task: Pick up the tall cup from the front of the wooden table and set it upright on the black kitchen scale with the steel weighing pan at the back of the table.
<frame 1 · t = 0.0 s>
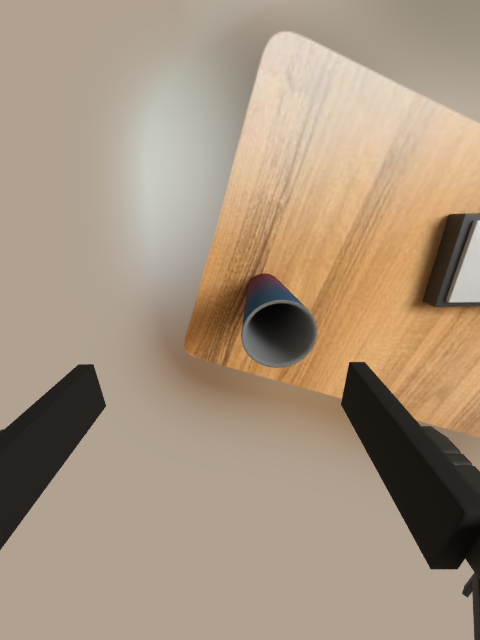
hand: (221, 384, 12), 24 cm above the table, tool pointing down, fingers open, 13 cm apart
cup: (264, 290, 35), on the table
scale: (477, 260, 33), on the table
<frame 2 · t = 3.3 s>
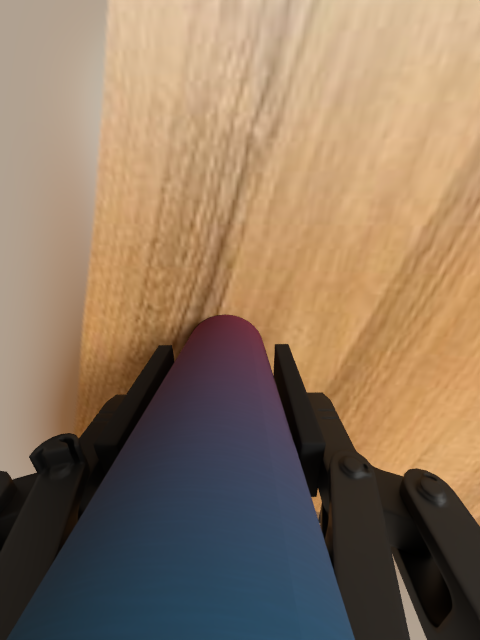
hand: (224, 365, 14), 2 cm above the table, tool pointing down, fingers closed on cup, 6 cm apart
cup: (226, 347, 16), on the table, touching gripper
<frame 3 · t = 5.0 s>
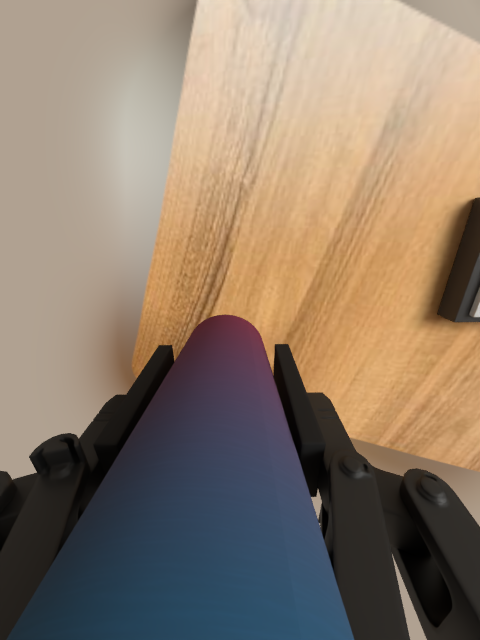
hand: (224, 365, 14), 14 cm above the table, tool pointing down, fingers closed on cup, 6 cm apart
cup: (226, 347, 16), point 11 cm above the table, touching gripper
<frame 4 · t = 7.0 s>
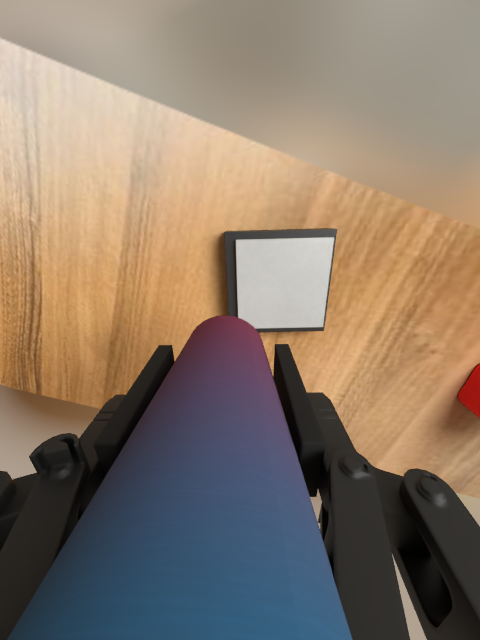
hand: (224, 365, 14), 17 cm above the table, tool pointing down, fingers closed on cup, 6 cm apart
cup: (226, 348, 16), point 15 cm above the table, touching gripper
scale: (275, 280, 29), on the table
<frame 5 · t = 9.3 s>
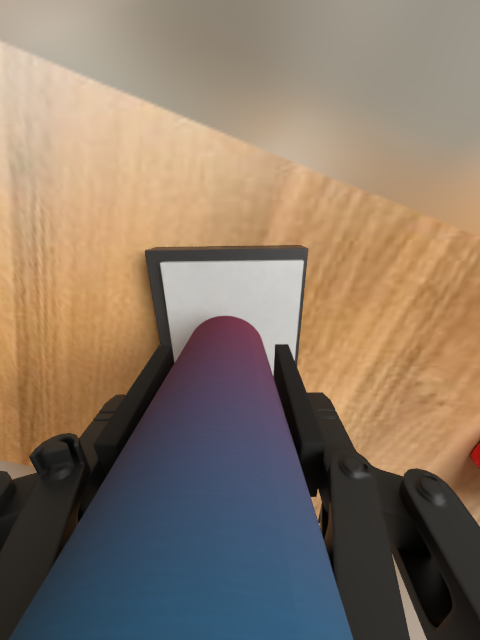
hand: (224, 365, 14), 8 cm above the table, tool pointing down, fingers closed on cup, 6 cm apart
cup: (226, 348, 16), point 6 cm above the table, touching gripper
scale: (230, 313, 22), on the table
when the fingers open (5 cm above the table, at t = 10.6 s): cup stays where it is, resting on scale.
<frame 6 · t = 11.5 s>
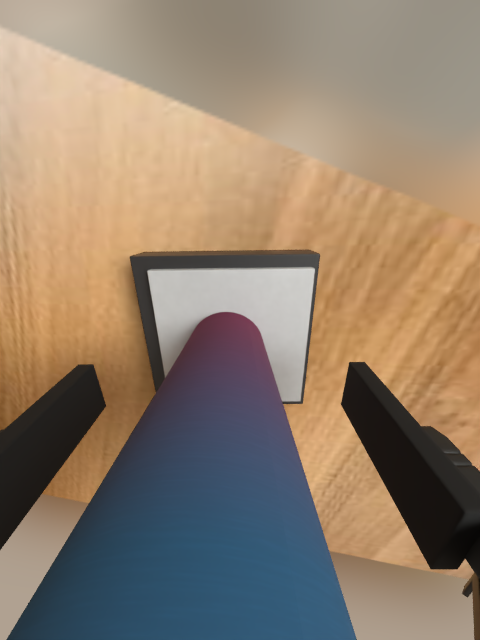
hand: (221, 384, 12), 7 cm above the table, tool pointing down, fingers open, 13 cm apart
cup: (227, 343, 17), point 3 cm above the table, touching scale
scale: (229, 326, 19), on the table
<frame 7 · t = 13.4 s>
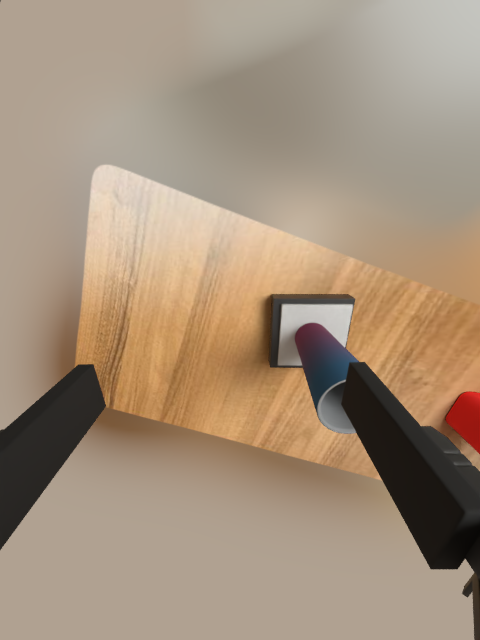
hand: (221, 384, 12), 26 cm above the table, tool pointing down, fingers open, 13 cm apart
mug: (479, 409, 45), on the table
cup: (310, 336, 36), point 3 cm above the table, touching scale
scale: (306, 329, 39), on the table
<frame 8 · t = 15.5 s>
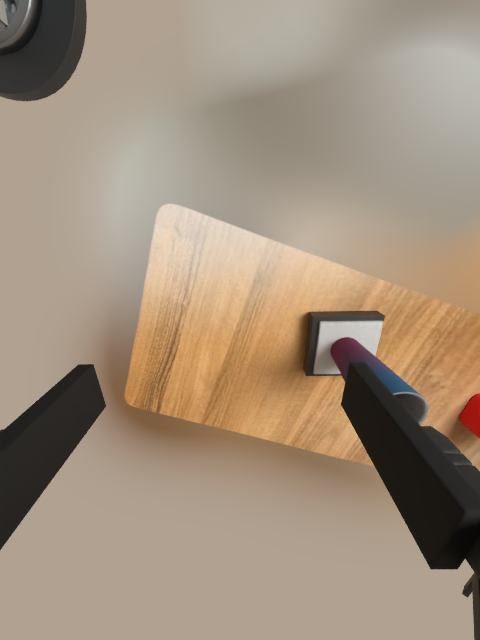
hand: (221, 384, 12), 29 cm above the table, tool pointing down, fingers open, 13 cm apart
cup: (344, 349, 41), point 3 cm above the table, touching scale
scale: (338, 341, 44), on the table
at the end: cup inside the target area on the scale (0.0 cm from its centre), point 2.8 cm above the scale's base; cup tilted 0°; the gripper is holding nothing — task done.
